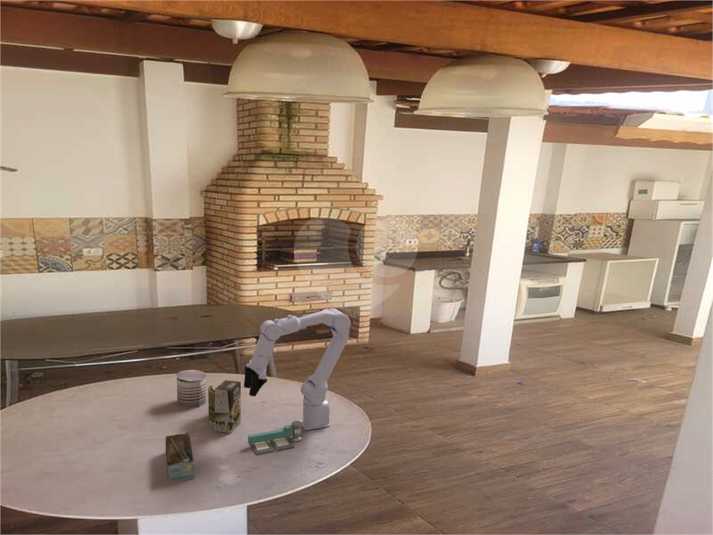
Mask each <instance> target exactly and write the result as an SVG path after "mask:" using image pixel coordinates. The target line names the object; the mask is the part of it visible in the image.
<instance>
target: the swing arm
mask: <svg viewBox="0 0 713 535" xmlns="http://www.w3.org/2000/svg"><path fill="white" fill-rule="evenodd" d="M283 427H284V428H281V429H275V430H269V431H268V430H267V431H264V432H257V433H253V434H247V443H248V445H250V444H254V443H259V442H265V441H268V442H271V441H270V440H276V439H281V438H287V437H288V438H289V437H292V434H293V428H300V427H301V428H302V427H303V426H302V422H300V421H299V420H295V421H292V422H291V424H290V425H289V424H288V425H285V426H284V425H283Z"/></svg>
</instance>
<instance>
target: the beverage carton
mask: <svg viewBox="0 0 713 535" xmlns="http://www.w3.org/2000/svg"><path fill="white" fill-rule="evenodd" d="M164 446H165V462H166V469H167V470H166V472H167V480H168V483H175V482H181V481H186V480H193V479H194V478H195V465H194V464H195V463H194V455H193V448H192V446H193V445H192V440H191V434H190V432H187V433H186V432H185V433H177V434H173V435H166V436H165V445H164ZM194 480H195V479H194Z"/></svg>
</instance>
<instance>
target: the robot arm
mask: <svg viewBox="0 0 713 535" xmlns="http://www.w3.org/2000/svg"><path fill="white" fill-rule="evenodd" d="M319 324H324V325H326V326H328V327H329V328H330V331H331V334H332V338H331V340H330V342H329V344H328V345H327V348H326V350H325V351H324V353H323V356H322V358H321V359H320V362H319V364H318V365H317V368H316V369H315V372H314V373H313V374H312V375H308V378H307V379H306V380H305V381H304V383H302V384H301V387H300V392H301V395H303V399H302V419H299V420H298V421H300V422H302V427H303V428H304V430H305V431H309V430H311V431H312V430H315V429H321V428H327V427H330V426H331V424H330V404H329V402H328V400H327V399H326V396H327V392H328V380H329V378H330V377H331V374H332V372H333V370H334V367H336V364H337V363H338V360H339V358H340V357H341V355H342V352H343V350H344V348H345V347H346V345H347V342H348V341H349V338H350V327H351V326H352V323H351V319H350V318H349V316H348V315H347V314H345V313H343V312H341V311H340V310H338V309H337V308H335V307H330V308H324V309H322V310H321V311H317V312H314V313H310V314H307V315H303V316H301V317H298V316H296V315H291V314H288V315H287V317H284V318H275V319H274V320H271V319H268V320H265V321H264V322H263V323H261V324H260V325H259V332H260V335H259V337H258V340H257V343H256V346H255V348H254V351H253V355H252V356H251V359H249V361H248V363H246V364H245V366H244V380H243V381H244V383H243V388H246V389H249V391H248V392H249V394H248V395H249V396H251V397H256V396H257V395H258V393H259V391H260V390H261V388H262V387H263V386H264V385H265V384H266V383H267V382H268V379H267V378H266V377H267V373H266V372H267V368H268V367H267V366H268V364H269V361H270V358H271V355H272V353H273V350H274V346H275V345H276V344H275V343H276V341H277V340H279V338H280V337H281V336H285V335H286V336H287V335H289V334H293V333H296V332H298V331H300V329H301V328H304V327H309V326H313V325H319Z"/></svg>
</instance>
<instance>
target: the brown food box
mask: <svg viewBox="0 0 713 535" xmlns="http://www.w3.org/2000/svg"><path fill="white" fill-rule="evenodd" d="M207 398H208V400H207V403H208V408H207V409H208V414H207V415H208V422H210V421H211V422H212V423H211V422H210V423H211V424H213V423H215V389H213V385H212V384H211V385H209V386H208V388H207Z"/></svg>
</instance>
